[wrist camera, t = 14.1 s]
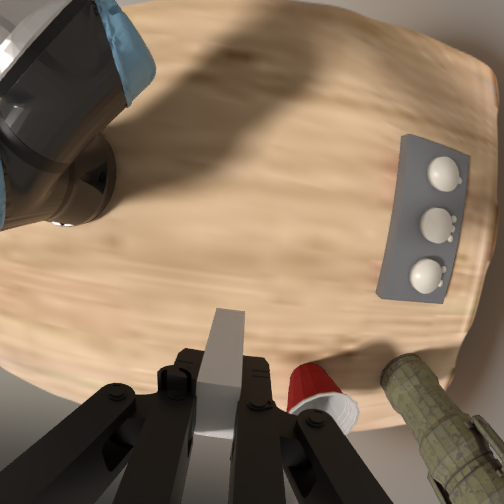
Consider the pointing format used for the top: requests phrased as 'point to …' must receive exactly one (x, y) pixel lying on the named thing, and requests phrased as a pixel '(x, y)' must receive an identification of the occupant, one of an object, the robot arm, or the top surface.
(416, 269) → the button two dots
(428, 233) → the button three dots
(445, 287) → the button panel
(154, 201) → the top surface
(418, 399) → the thermos
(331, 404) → the plastic cup
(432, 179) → the button one dot
